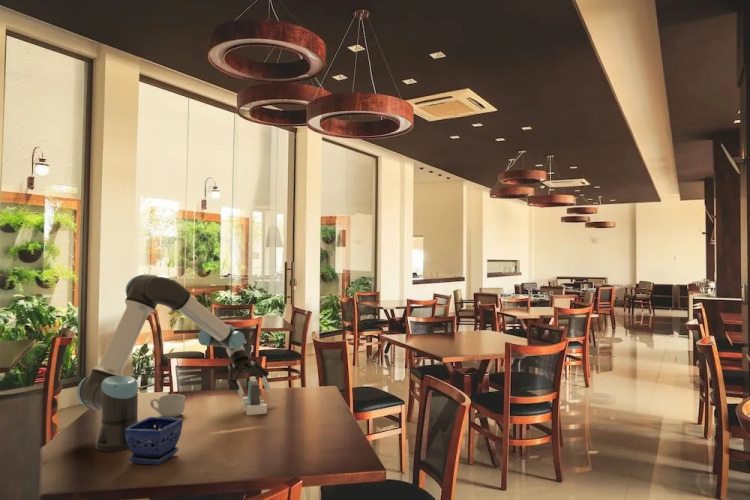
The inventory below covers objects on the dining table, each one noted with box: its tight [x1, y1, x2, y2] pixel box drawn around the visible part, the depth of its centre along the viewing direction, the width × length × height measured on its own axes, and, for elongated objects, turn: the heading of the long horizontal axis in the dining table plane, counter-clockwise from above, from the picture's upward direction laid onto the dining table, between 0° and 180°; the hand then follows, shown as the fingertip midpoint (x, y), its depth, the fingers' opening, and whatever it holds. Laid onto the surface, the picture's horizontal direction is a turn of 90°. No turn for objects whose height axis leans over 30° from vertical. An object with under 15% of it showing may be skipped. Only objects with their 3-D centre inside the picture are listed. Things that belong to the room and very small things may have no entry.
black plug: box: [250, 379, 261, 405], centre depth 223 cm, size 4×4×13 cm
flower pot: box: [125, 416, 184, 466], centre depth 172 cm, size 13×13×12 cm
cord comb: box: [241, 395, 268, 416], centre depth 226 cm, size 16×8×4 cm, turn 22°
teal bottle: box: [247, 376, 257, 401], centre depth 230 cm, size 4×4×13 cm
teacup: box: [149, 393, 186, 418], centre depth 220 cm, size 14×11×8 cm
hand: (256, 392), depth 228 cm, fingers open, 13 cm apart
